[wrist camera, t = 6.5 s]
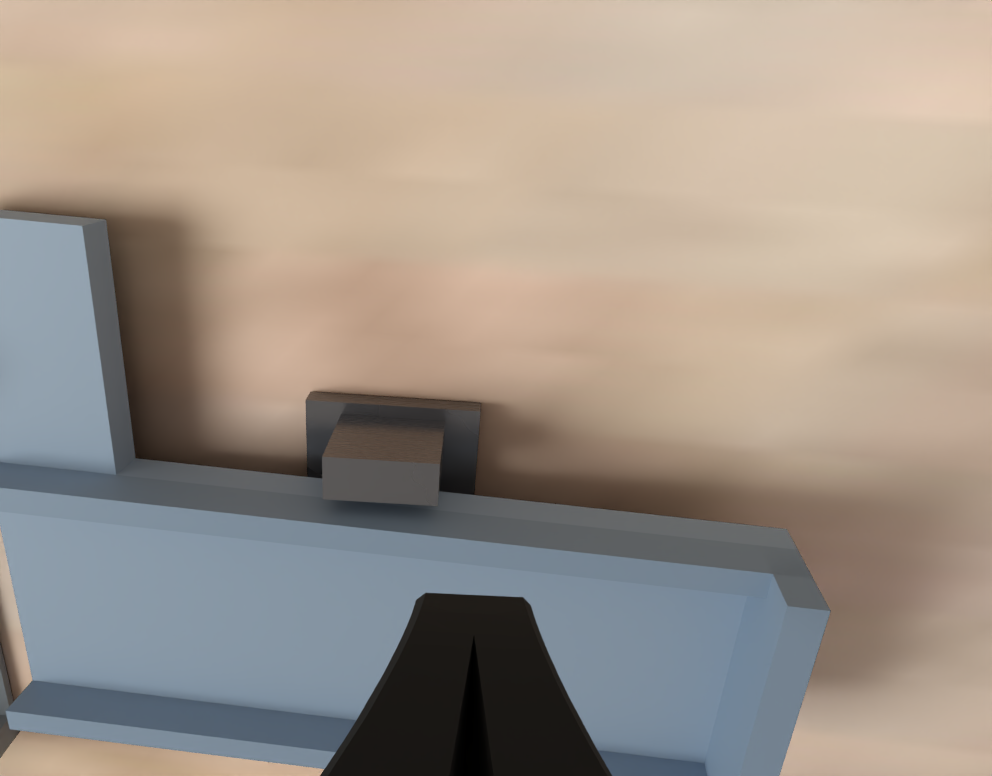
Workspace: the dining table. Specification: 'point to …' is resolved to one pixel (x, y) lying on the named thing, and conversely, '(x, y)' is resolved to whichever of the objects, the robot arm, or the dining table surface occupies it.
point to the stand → (391, 447)
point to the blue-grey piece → (342, 575)
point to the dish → (5, 708)
